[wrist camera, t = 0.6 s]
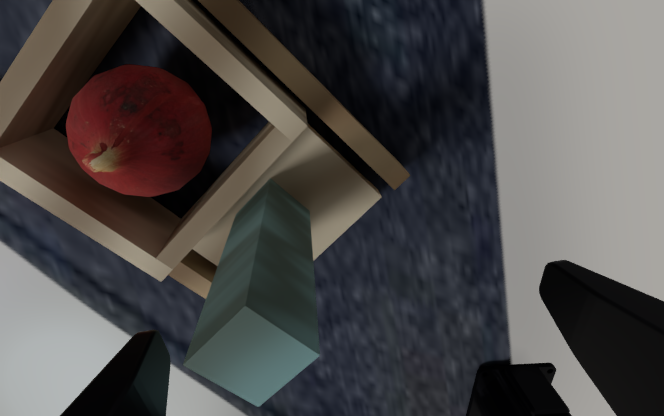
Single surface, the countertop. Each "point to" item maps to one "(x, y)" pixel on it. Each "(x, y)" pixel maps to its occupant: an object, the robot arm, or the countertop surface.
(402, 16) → the countertop surface
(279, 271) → the wooden open tray
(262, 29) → the guide rails
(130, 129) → the onion
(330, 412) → the countertop surface
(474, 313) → the countertop surface
